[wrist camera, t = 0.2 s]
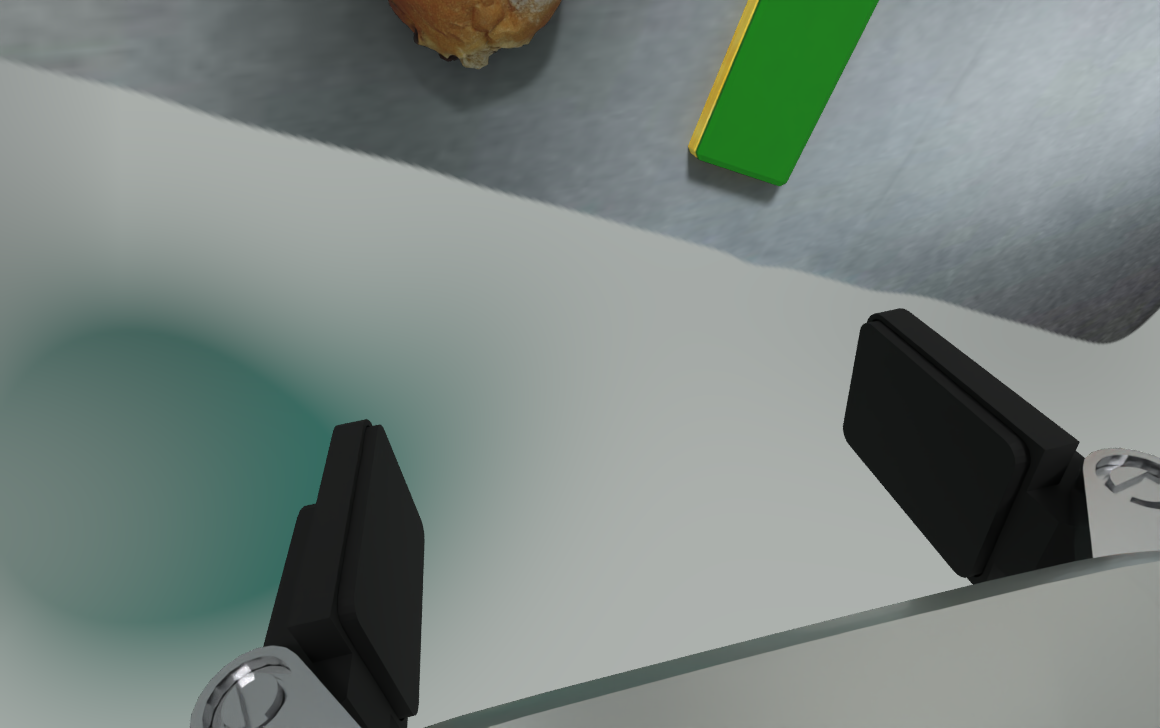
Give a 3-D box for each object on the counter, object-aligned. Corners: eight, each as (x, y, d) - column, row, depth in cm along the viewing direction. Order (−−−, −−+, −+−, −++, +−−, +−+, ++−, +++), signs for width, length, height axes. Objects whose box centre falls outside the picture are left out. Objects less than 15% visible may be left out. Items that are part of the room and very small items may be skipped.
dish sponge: (683, 149, 41) (695, 158, 39) (781, -90, 34) (801, -93, 32) (769, 177, 43) (784, 188, 41) (876, -41, 37) (900, -41, 35)
